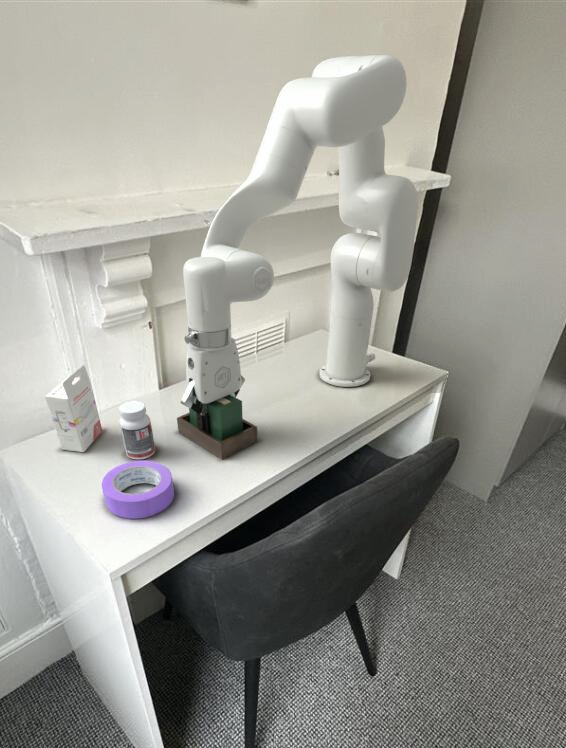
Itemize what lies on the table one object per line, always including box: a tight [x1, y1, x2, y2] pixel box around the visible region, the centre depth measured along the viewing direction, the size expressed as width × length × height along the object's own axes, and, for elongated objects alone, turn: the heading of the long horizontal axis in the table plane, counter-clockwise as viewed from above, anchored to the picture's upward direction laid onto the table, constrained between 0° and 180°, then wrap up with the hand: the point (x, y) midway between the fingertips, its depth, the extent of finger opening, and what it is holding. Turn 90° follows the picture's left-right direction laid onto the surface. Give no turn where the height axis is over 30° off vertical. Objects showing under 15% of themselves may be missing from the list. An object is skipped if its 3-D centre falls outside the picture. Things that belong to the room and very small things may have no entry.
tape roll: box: [101, 460, 175, 520], centre depth 85 cm, size 12×12×4 cm
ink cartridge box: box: [44, 364, 103, 453], centre depth 95 cm, size 9×5×15 cm, turn 168°
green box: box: [188, 395, 244, 442], centre depth 98 cm, size 10×6×7 cm, turn 44°
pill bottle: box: [118, 400, 156, 461], centre depth 94 cm, size 6×6×10 cm
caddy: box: [176, 412, 258, 460], centre depth 100 cm, size 9×14×4 cm
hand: (216, 424), depth 99 cm, fingers closed on green box, 5 cm apart
